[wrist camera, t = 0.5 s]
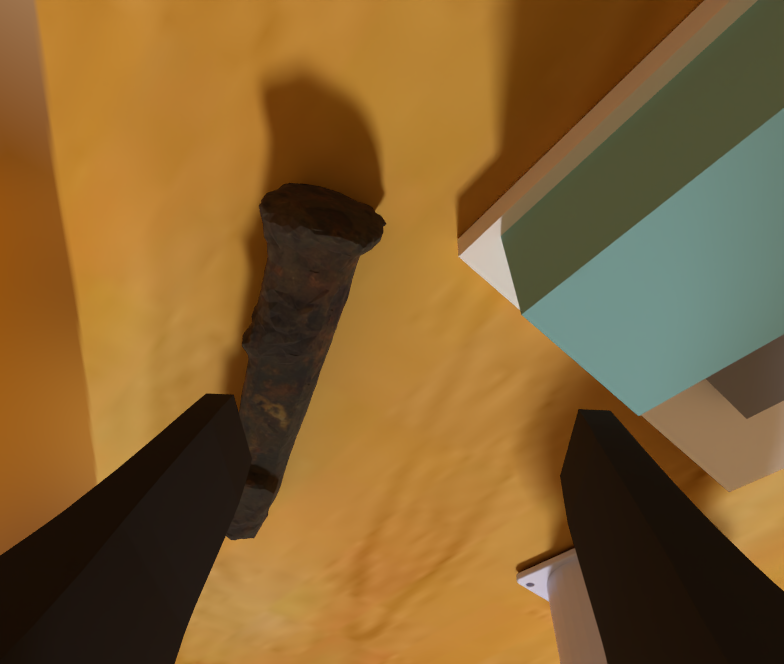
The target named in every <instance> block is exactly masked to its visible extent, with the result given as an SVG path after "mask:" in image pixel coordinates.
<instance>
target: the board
mask: <svg viewBox="0 0 784 664" xmlns="http://www.w3.org/2000/svg"><path fill="white" fill-rule="evenodd" d="M756 1H758V0H704V1H703V2H702V3H701V4H700V5H699V6H698V7H697V8H696V9H695V10H694V11H693V12H692V13H691V14H690V15H689V16H688V17H687V18H686V19H684V20H683V21H682V22H681V23H680V24H679V25H678V26H677V27H676V28H675V29H674V30H673V31H672V32H671V33H670V34H669V35H668V36H667V37H666V38H665V39H664V40H663V41H662V42H661V43H660V44H659V45H658V46H657V47H656V48H655V49H654V50H652V51H651V52H650V53H649V54H648V55H647V56H646V57H645V58H644V59H643V60H642V61H641V62H640V63H639V64H638V65H637V66H636V67H635V68H634V69H633V70H632V71H631V72H630V73H629V74H628V75H627V76H626V77H625V78H624V79H623V80H622V81H620V82H619V83H618V84H617V85H616V86H615V87H614V88H613V89H612V90H611V91H610V92H609V93H608V94H607V95H606V96H605V97H604V98H603V99H602V100H601V101H600V102H599V103H598V104H597V105H596V106H595V107H594V108H593V109H592V110H591V111H590V112H589V113H587V114H586V115H585V116H584V117H583V118H582V119H581V120H580V121H579V122H578V123H577V124H576V125H575V126H574V127H573V128H572V129H571V130H570V131H569V132H568V133H567V134H566V135H565V136H564V137H563V138H562V139H561V140H560V141H559V142H558V143H557V144H555V145H554V146H553V147H552V148H551V149H550V150H549V151H548V152H547V153H546V154H545V155H544V156H543V157H542V158H541V159H540V160H539V161H538V162H537V163H536V164H535V165H534V166H533V167H532V168H531V169H530V170H529V171H528V172H527V173H526V174H525V175H524V176H522V177H521V178H520V179H519V180H518V181H517V182H516V183H515V184H514V185H513V186H512V187H511V188H510V189H509V190H508V191H507V192H506V193H505V194H504V195H503V196H502V197H501V198H500V199H499V200H498V201H497V202H496V203H495V204H494V205H493V206H492V207H490V208H489V209H488V210H487V211H486V212H485V213H484V214H483V215H482V216H481V217H480V218H479V219H478V220H477V221H476V222H475V223H474V224H473V225H472V226H471V227H470V228H469V229H468V230H467V231H466V232H465V233H464V234H463V235H462V236H461V237H460V238H458V239H457V241H458V255H459V257H460V258H461V259H462V260H463V261H464V262H465V263H466V264H468V265H469V266H470V267H471V268H472V269H473V270H475V271H476V272H477V273H478V274H479V275H480V276H481V277H483V278H484V279H485V280H486V281H487V282H488V283H489V284H491V285H492V286H493V287H494V288H495V289H496V290H498V291H499V292H500V293H501V294H502V295H503V296H504V297H506V298H507V299H508V300H509V301H510V302H511V303H512V304H514V305H515V306H516V307H517V308H518V309H519V310H520V307H519V304H518V300H517V296H516V292H515V289H514V285H513V281H512V277H511V274H510V270H509V266H508V262H507V259H506V255H505V251H504V247H503V244H502V240H501V235H502V234H503V233H505V232H506V231H507V230H508V229H509V228H510V227H511V226H512V225H513V224H514V223H515V222H517V221H518V220H519V219H520V218H521V217H522V216H523V215H524V214H525V213H526V212H527V211H529V210H530V209H531V208H532V207H533V206H534V205H535V204H536V203H537V202H538V201H539V200H541V199H542V198H543V197H544V196H545V195H546V194H547V193H548V192H549V191H550V190H551V189H553V188H554V187H555V186H556V185H557V184H558V183H559V182H560V181H561V180H562V179H563V178H565V177H566V176H567V175H568V174H569V173H570V172H571V171H572V170H573V169H574V168H575V167H577V166H578V165H579V164H580V163H581V162H582V161H583V160H584V159H585V158H586V157H587V156H589V155H590V154H591V153H592V152H593V151H594V150H595V149H596V148H597V147H598V146H599V145H601V144H602V143H603V142H604V141H605V140H606V139H607V138H608V137H609V136H610V135H611V134H613V133H614V132H615V131H616V130H617V129H618V128H619V127H620V126H621V125H622V124H623V123H625V122H626V121H627V120H628V119H629V118H630V117H631V116H632V115H633V114H634V113H635V112H637V111H638V110H639V109H640V108H641V107H642V106H643V105H644V104H645V103H646V102H647V101H649V100H650V99H651V98H652V97H653V96H654V95H655V94H656V93H657V92H658V91H659V90H660V89H662V88H663V87H664V86H665V85H666V84H667V83H668V82H669V81H670V80H671V79H672V78H674V77H675V76H676V75H677V74H678V73H679V72H680V71H681V70H682V69H683V68H684V67H686V66H687V65H688V64H689V63H690V62H691V61H692V60H693V59H694V58H695V57H696V56H698V55H699V54H700V53H701V52H702V51H703V50H704V49H705V48H706V47H707V46H708V45H710V44H711V43H712V42H713V41H714V40H715V39H716V38H717V37H718V36H719V35H720V34H722V33H723V32H724V31H725V30H726V29H727V28H728V27H729V26H730V25H731V24H732V23H734V22H735V21H736V20H737V19H738V18H739V17H740V16H741V15H742V14H743V13H744V12H746V11H747V10H748V9H749V8H750V7H751V6H752V5H753V4H754V3H755V2H756ZM641 416H642V417H643V418H645V419H646V420H647V421H648V422H649V423H650V424H651V425H653V426H654V427H655V428H656V429H657V430H658V431H660V432H661V433H662V434H663V435H664V436H665V437H666V438H668V439H669V440H670V441H671V442H672V443H673V444H674V445H676V446H677V447H678V448H679V449H680V450H681V451H683V452H684V453H685V454H686V455H687V456H688V457H689V458H691V459H692V460H693V461H694V462H695V463H696V464H697V465H699V466H700V467H701V468H702V469H703V470H704V471H706V472H707V473H708V474H709V475H710V476H711V477H712V478H714V479H715V480H716V481H717V482H718V483H719V484H720V485H722V486H723V487H724V488H725V489H726V490H727V491H728V492H731V491H733V490H735V489H738V488H740V487H742V486H744V485H747V484H749V483H751V482H754V481H756V480H758V479H761V478H763V477H765V476H768V475H770V474H772V473H774V472H777V471H779V470H781V469H784V401H782V402H780V403H778V404H776V405H774V406H772V407H770V408H768V409H766V410H764V411H762V412H760V413H758V414H756V415H754V416H752V417H750V418H748V419H746V418H745V417H744V416H743V415H742V414H741V413H740V412H739V411H738V410H737V409H736V408H735V407H734V406H733V405H732V404H731V403H730V402H729V401H728V400H727V399H726V398H725V397H724V396H723V395H722V394H721V393H720V392H719V391H718V390H717V389H715V388H714V387H713V386H712V385H711V384H710V383H709V382H708V381H707V380H706V379H704V380H702V381H700V382H698V383H697V384H695V385H693V386H691V387H689V388H688V389H686V390H684V391H682V392H681V393H679V394H677V395H675V396H674V397H672V398H670V399H668V400H666V401H665V402H663V403H661V404H659V405H658V406H656V407H654V408H652V409H651V410H649V411H647V412H645V413H643V414H642V415H641Z"/></svg>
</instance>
